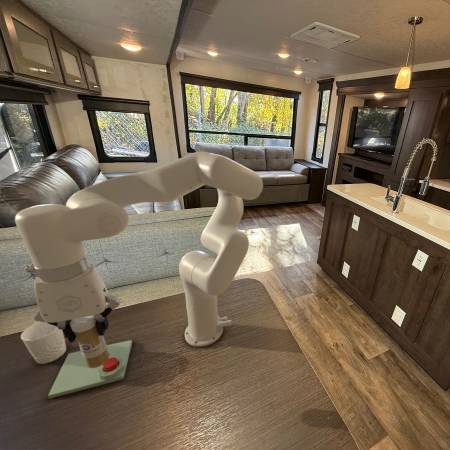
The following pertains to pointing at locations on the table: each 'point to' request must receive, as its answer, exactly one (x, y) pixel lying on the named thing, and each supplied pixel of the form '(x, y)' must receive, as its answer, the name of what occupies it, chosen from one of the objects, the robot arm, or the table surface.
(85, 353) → the sprinkles bottle
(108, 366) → the button
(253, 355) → the table surface
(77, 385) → the scale
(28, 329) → the white cup
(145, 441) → the table surface
